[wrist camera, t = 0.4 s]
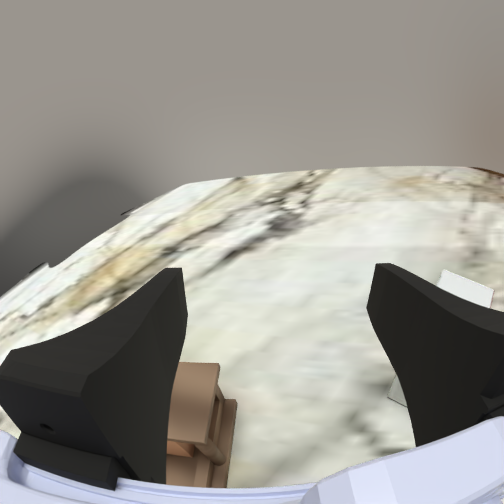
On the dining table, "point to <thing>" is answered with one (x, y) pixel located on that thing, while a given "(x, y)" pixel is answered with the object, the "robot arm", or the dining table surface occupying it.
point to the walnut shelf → (200, 427)
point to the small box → (461, 289)
